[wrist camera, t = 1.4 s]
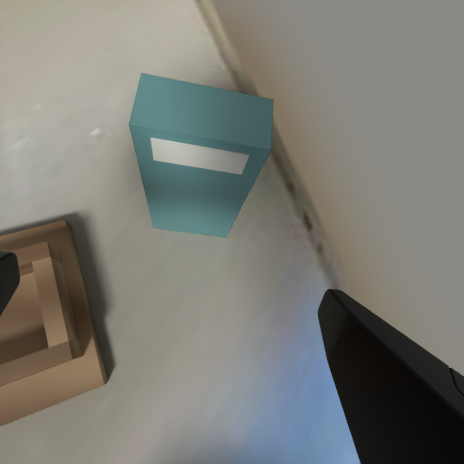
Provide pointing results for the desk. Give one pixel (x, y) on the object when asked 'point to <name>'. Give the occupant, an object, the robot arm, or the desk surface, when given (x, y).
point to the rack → (46, 325)
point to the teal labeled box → (198, 151)
